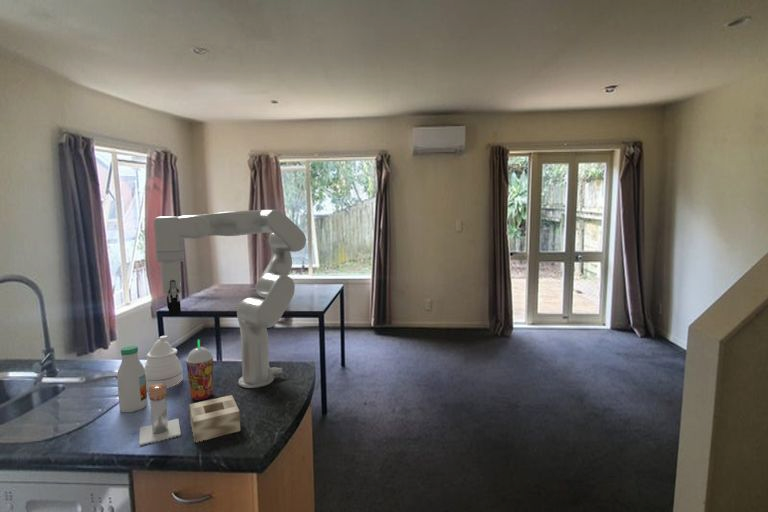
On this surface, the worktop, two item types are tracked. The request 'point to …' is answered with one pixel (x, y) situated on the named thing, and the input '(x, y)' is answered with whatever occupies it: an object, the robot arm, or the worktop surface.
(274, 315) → the robot arm
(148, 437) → the white square plate
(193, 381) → the smoothie
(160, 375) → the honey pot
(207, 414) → the birch eye block
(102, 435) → the worktop surface
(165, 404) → the copper capped bottle
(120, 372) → the milk bottle
